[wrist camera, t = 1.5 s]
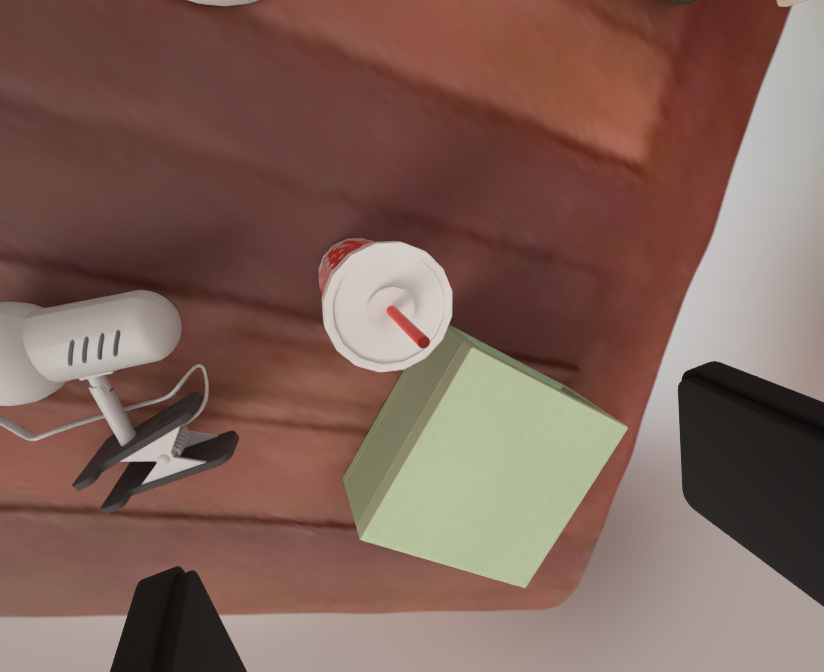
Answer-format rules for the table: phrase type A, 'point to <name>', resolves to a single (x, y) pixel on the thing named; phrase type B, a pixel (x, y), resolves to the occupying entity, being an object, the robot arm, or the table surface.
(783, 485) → the robot arm
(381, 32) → the table surface
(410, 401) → the stand
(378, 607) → the table surface
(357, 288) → the beverage cup
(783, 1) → the character mug
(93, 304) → the clip-on lamp
